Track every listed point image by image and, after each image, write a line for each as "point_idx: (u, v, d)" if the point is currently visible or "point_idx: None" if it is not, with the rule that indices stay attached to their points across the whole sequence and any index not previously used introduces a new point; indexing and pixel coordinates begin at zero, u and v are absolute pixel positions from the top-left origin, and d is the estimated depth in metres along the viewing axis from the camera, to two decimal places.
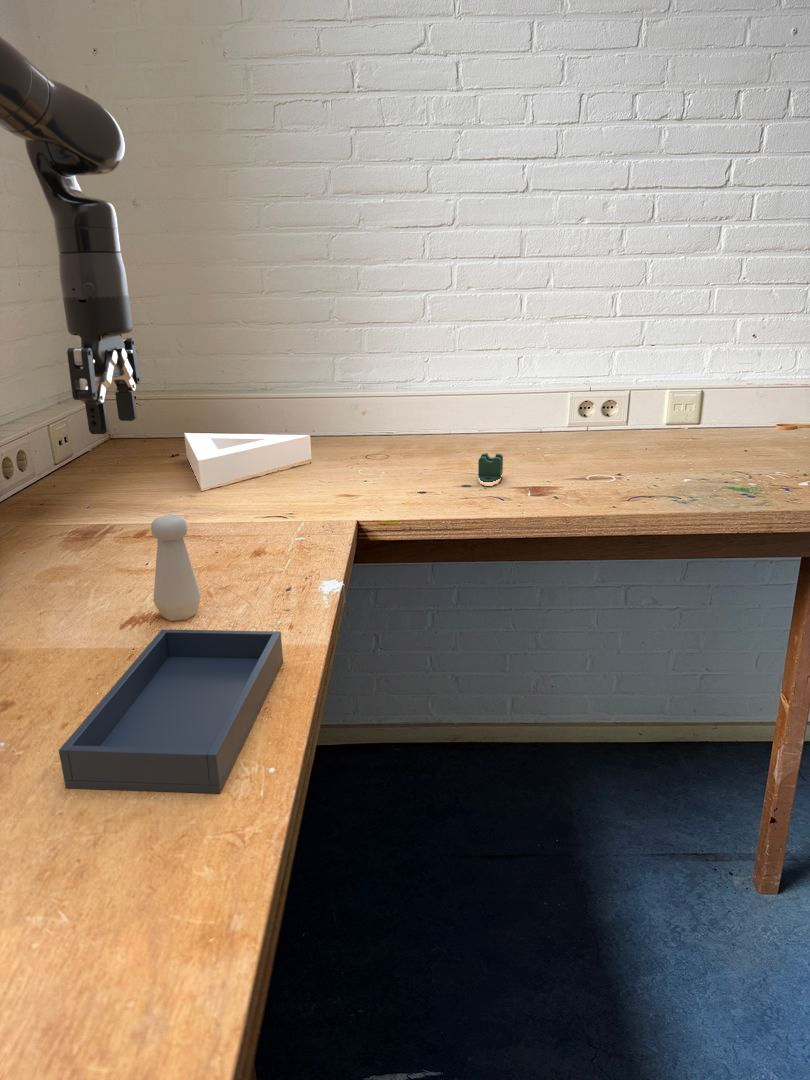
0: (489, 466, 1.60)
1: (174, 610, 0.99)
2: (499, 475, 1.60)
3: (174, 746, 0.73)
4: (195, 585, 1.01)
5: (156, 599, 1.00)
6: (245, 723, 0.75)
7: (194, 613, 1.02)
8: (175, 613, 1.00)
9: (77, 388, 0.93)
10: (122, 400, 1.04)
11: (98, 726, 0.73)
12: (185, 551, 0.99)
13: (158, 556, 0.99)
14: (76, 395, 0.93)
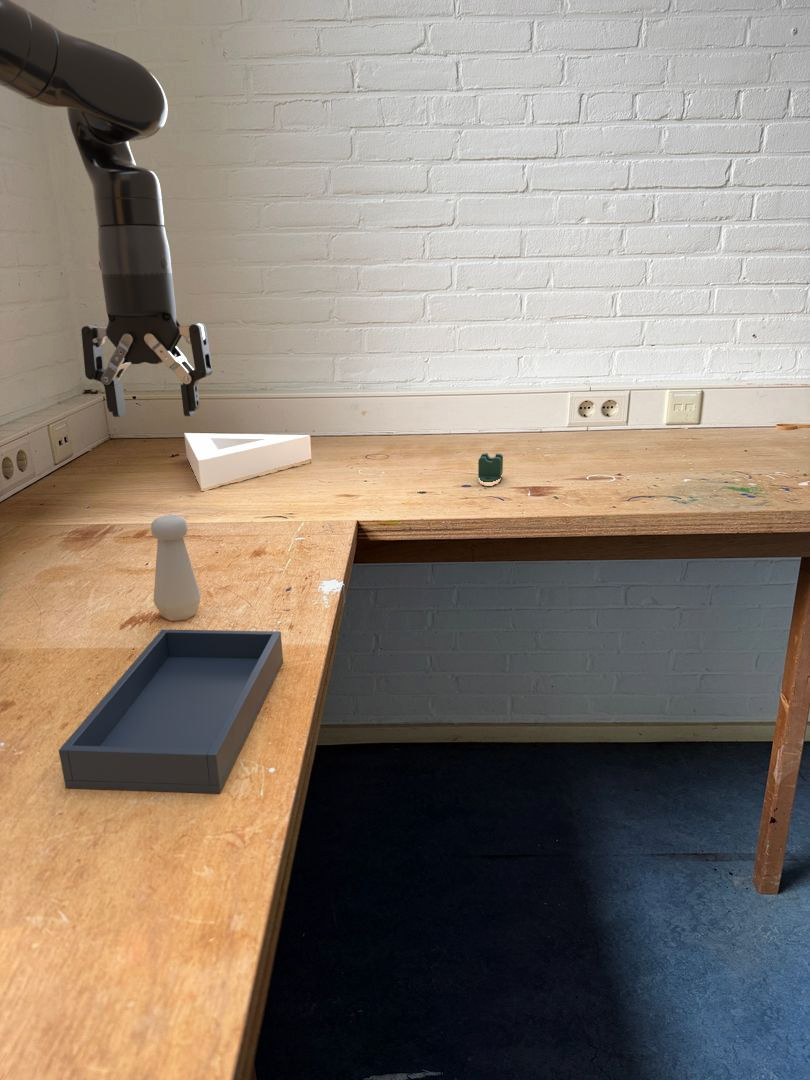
0: (489, 466, 1.60)
1: (174, 610, 0.99)
2: (499, 475, 1.60)
3: (174, 746, 0.73)
4: (195, 585, 1.01)
5: (156, 599, 1.00)
6: (245, 723, 0.75)
7: (194, 613, 1.02)
8: (175, 613, 1.00)
9: (96, 365, 0.93)
10: None
11: (98, 726, 0.73)
12: (185, 551, 0.99)
13: (158, 556, 0.99)
14: None
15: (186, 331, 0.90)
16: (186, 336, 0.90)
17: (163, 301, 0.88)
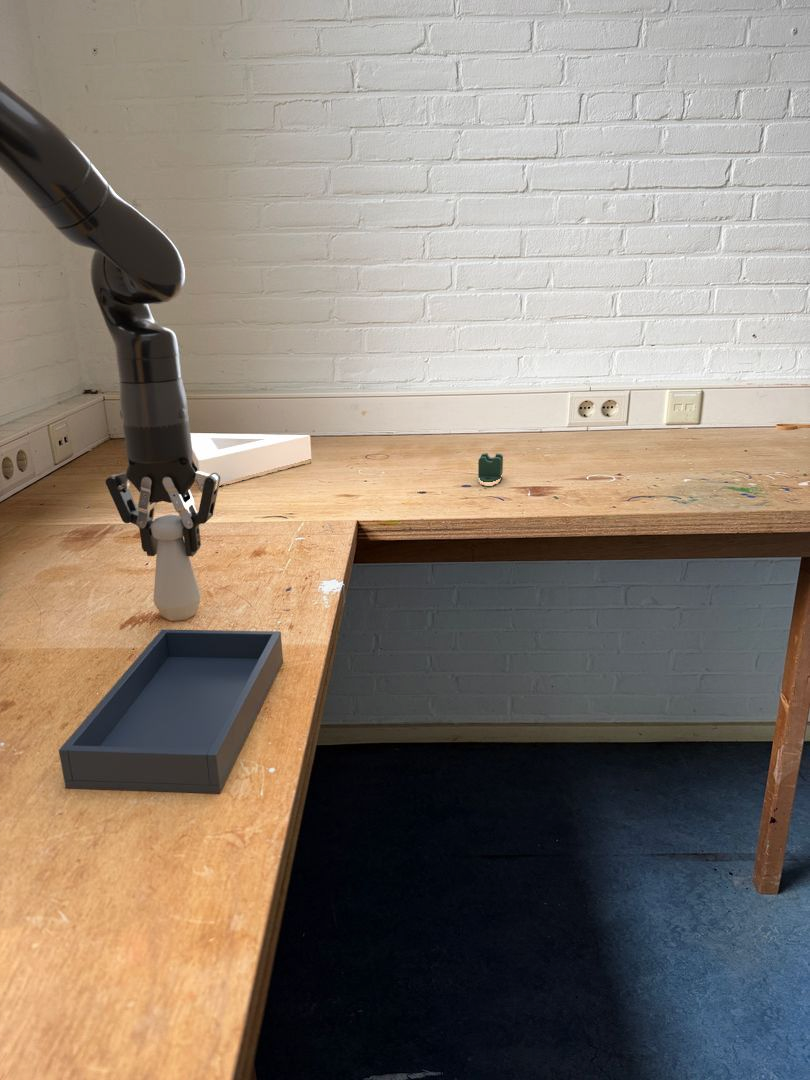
0: (489, 466, 1.60)
1: (174, 610, 0.99)
2: (499, 475, 1.60)
3: (174, 746, 0.73)
4: (195, 585, 1.01)
5: (156, 599, 1.00)
6: (245, 723, 0.75)
7: (194, 613, 1.02)
8: (175, 613, 1.00)
9: (129, 508, 0.99)
10: None
11: (98, 726, 0.73)
12: (185, 551, 0.99)
13: (158, 556, 0.99)
14: None
15: (201, 479, 0.96)
16: (200, 483, 0.96)
17: (180, 448, 0.93)
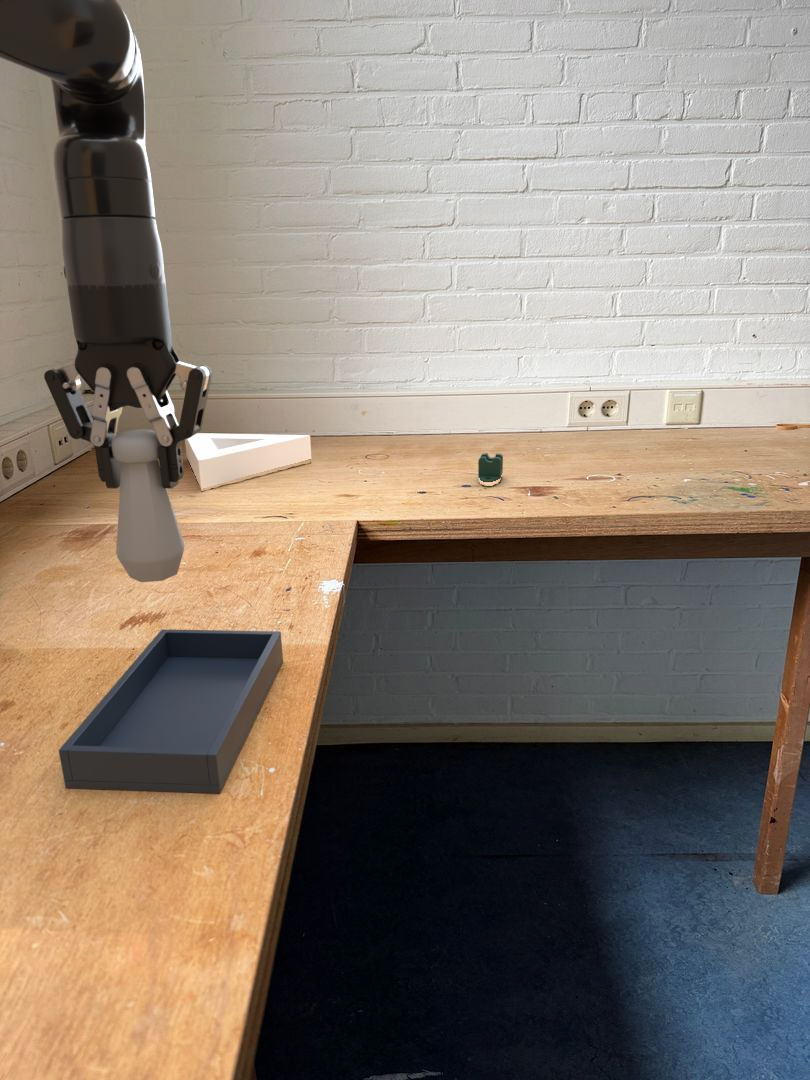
0: (489, 466, 1.60)
1: (146, 565, 0.69)
2: (499, 475, 1.60)
3: (174, 746, 0.73)
4: (176, 531, 0.70)
5: (120, 550, 0.69)
6: (245, 723, 0.75)
7: (175, 572, 0.72)
8: (147, 571, 0.69)
9: (81, 419, 0.69)
10: None
11: (98, 726, 0.73)
12: (161, 481, 0.69)
13: (123, 487, 0.68)
14: None
15: (184, 372, 0.65)
16: (182, 378, 0.66)
17: (153, 323, 0.63)
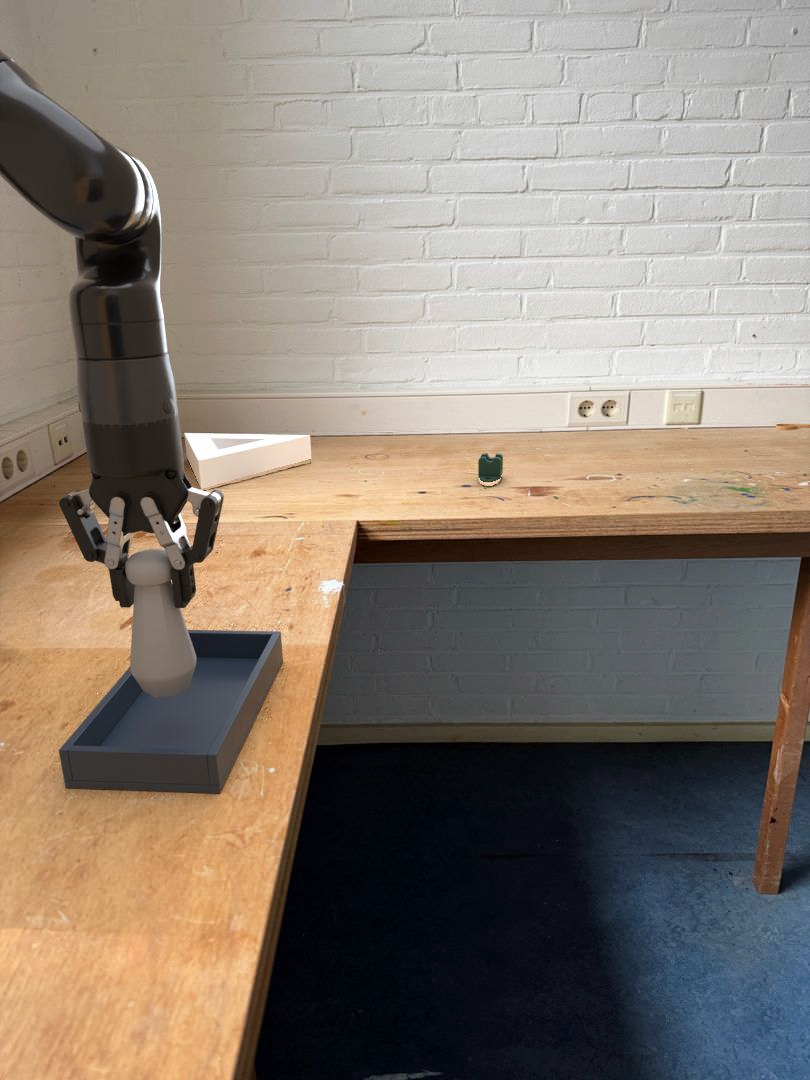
0: (489, 466, 1.60)
1: (159, 683, 0.70)
2: (499, 475, 1.60)
3: (174, 746, 0.73)
4: (188, 647, 0.72)
5: (133, 667, 0.71)
6: (245, 723, 0.75)
7: (187, 685, 0.73)
8: (160, 688, 0.71)
9: (95, 540, 0.70)
10: None
11: (98, 726, 0.73)
12: None
13: (136, 607, 0.70)
14: None
15: (197, 499, 0.67)
16: (194, 505, 0.67)
17: (166, 456, 0.64)
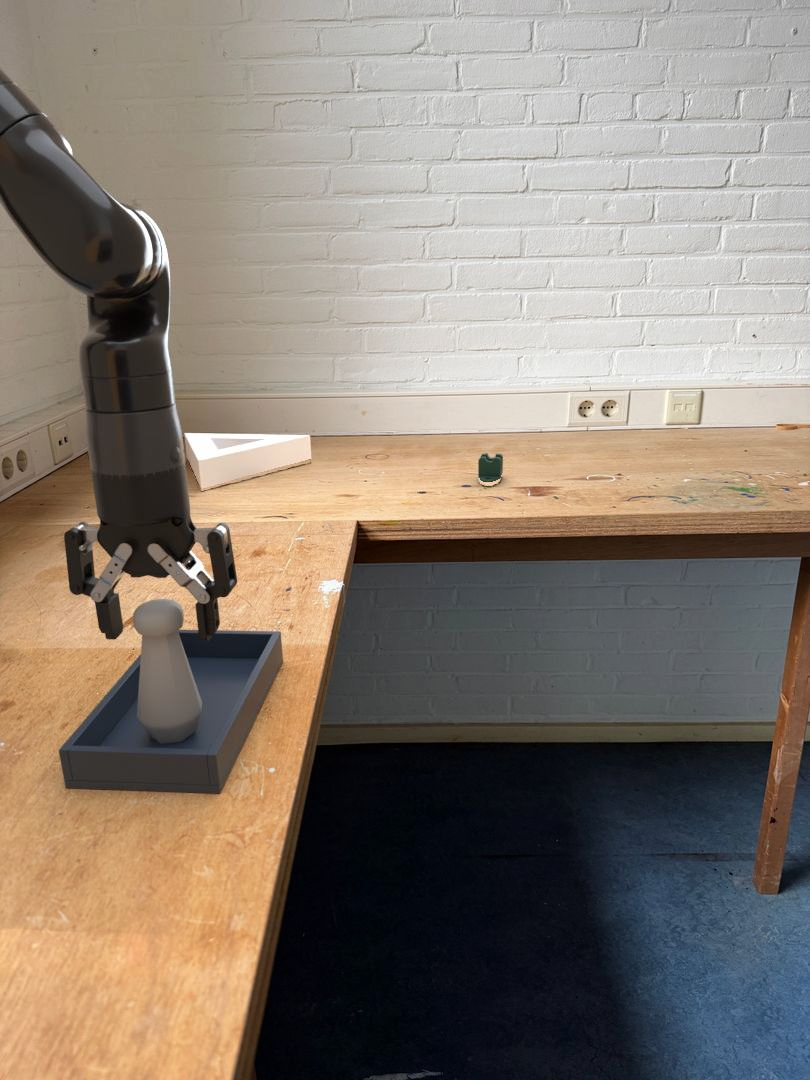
0: (489, 466, 1.60)
1: (165, 730, 0.72)
2: (499, 475, 1.60)
3: (174, 746, 0.73)
4: (194, 694, 0.73)
5: (140, 714, 0.72)
6: (245, 723, 0.75)
7: (193, 731, 0.74)
8: (167, 735, 0.72)
9: (84, 572, 0.71)
10: None
11: (98, 726, 0.73)
12: (180, 649, 0.72)
13: (144, 657, 0.71)
14: None
15: (203, 537, 0.68)
16: (203, 543, 0.68)
17: (173, 504, 0.65)
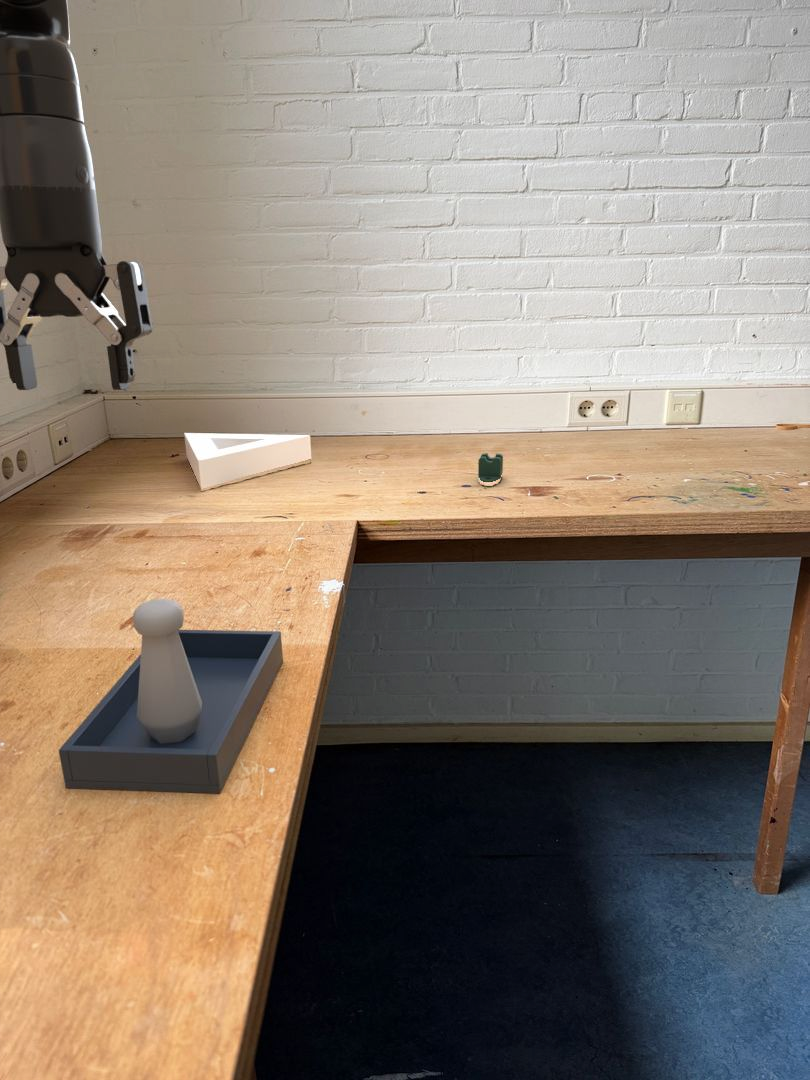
0: (489, 466, 1.60)
1: (165, 730, 0.72)
2: (499, 475, 1.60)
3: (174, 746, 0.73)
4: (194, 694, 0.73)
5: (140, 714, 0.72)
6: (245, 723, 0.75)
7: (193, 731, 0.74)
8: (167, 735, 0.72)
9: None
10: None
11: (98, 726, 0.73)
12: (180, 649, 0.72)
13: (144, 657, 0.71)
14: None
15: (114, 271, 0.65)
16: (114, 278, 0.65)
17: (80, 227, 0.63)
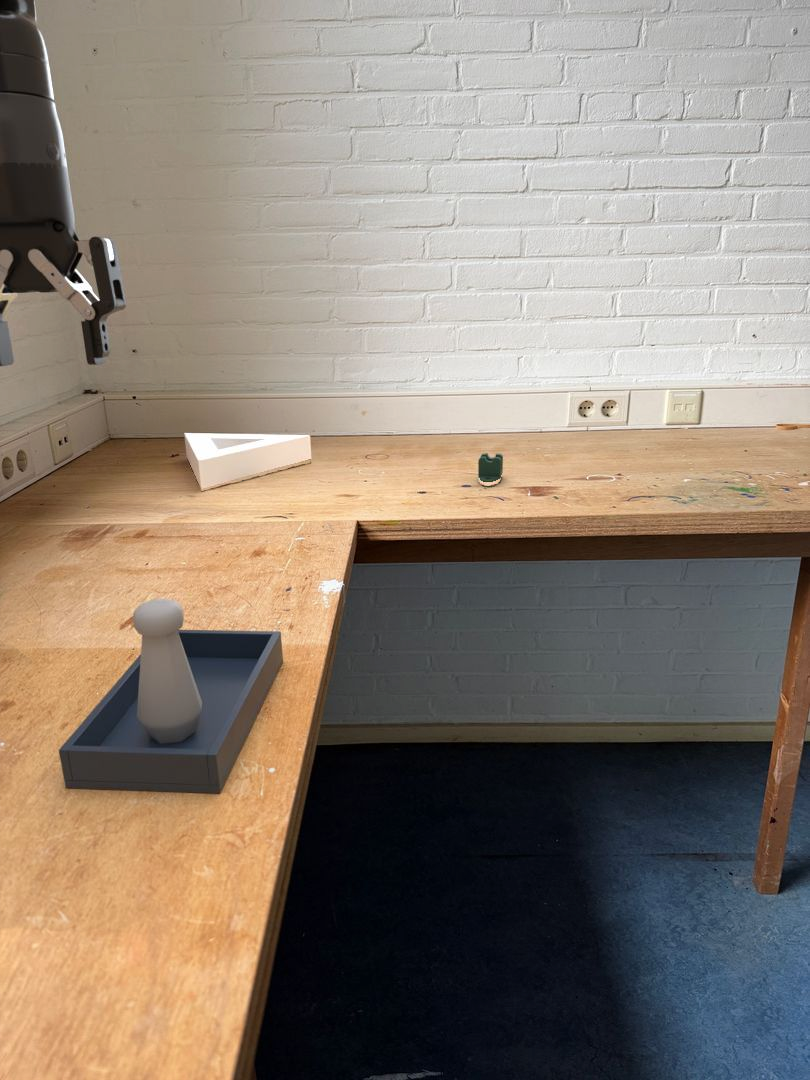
0: (489, 466, 1.60)
1: (165, 730, 0.72)
2: (499, 475, 1.60)
3: (174, 746, 0.73)
4: (194, 694, 0.73)
5: (140, 714, 0.72)
6: (245, 723, 0.75)
7: (193, 731, 0.74)
8: (167, 735, 0.72)
9: None
10: None
11: (98, 726, 0.73)
12: (180, 649, 0.72)
13: (144, 657, 0.71)
14: None
15: (87, 247, 0.66)
16: (87, 254, 0.67)
17: (52, 203, 0.64)
